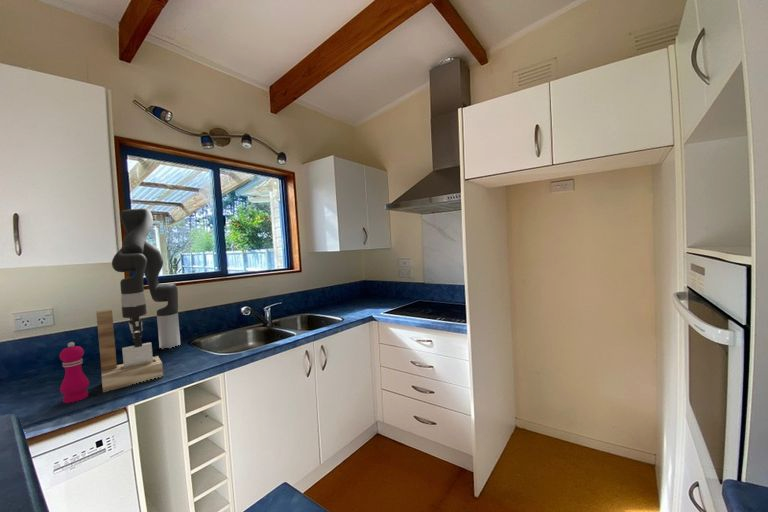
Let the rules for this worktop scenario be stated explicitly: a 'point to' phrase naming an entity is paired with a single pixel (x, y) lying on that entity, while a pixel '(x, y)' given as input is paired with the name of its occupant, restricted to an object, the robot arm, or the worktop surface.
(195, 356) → the worktop surface
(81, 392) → the pepper mill
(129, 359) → the grey stone slab
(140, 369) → the wooden l-shaped stand
